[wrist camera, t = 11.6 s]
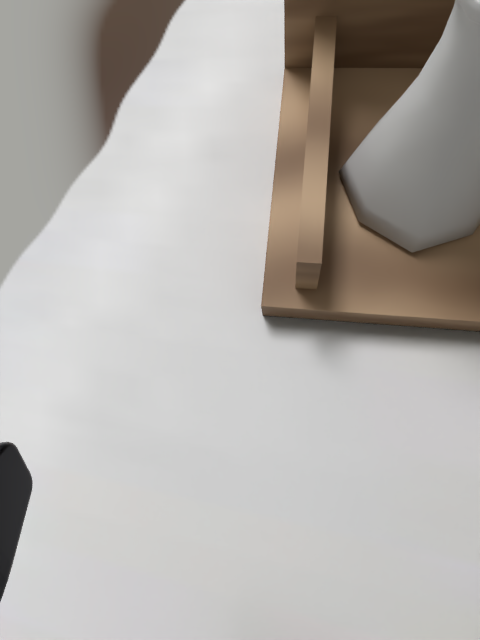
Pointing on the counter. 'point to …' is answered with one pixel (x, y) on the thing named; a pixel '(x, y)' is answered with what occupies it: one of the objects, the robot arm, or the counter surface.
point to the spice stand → (329, 157)
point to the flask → (426, 148)
